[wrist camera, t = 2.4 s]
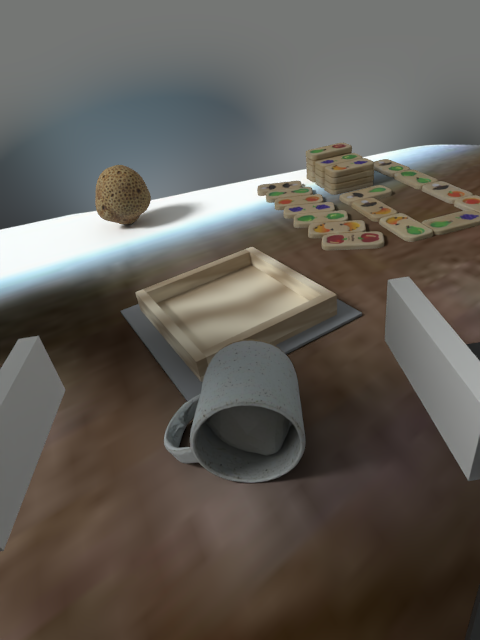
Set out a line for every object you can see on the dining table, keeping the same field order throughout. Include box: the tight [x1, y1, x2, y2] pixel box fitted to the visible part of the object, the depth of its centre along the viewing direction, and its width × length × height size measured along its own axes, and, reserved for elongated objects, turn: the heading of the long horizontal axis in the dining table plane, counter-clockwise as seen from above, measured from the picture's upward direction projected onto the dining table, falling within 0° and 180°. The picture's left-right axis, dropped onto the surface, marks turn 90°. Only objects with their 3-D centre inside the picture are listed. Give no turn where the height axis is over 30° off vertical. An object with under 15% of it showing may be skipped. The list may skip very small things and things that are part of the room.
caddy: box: [135, 247, 337, 382], centre depth 48 cm, size 16×16×2 cm
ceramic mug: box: [164, 339, 306, 483], centre depth 32 cm, size 11×8×8 cm
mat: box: [121, 299, 362, 402], centre depth 48 cm, size 19×20×1 cm
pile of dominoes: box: [258, 143, 480, 250], centre depth 70 cm, size 35×27×6 cm
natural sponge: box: [96, 165, 151, 225], centre depth 74 cm, size 9×9×10 cm
